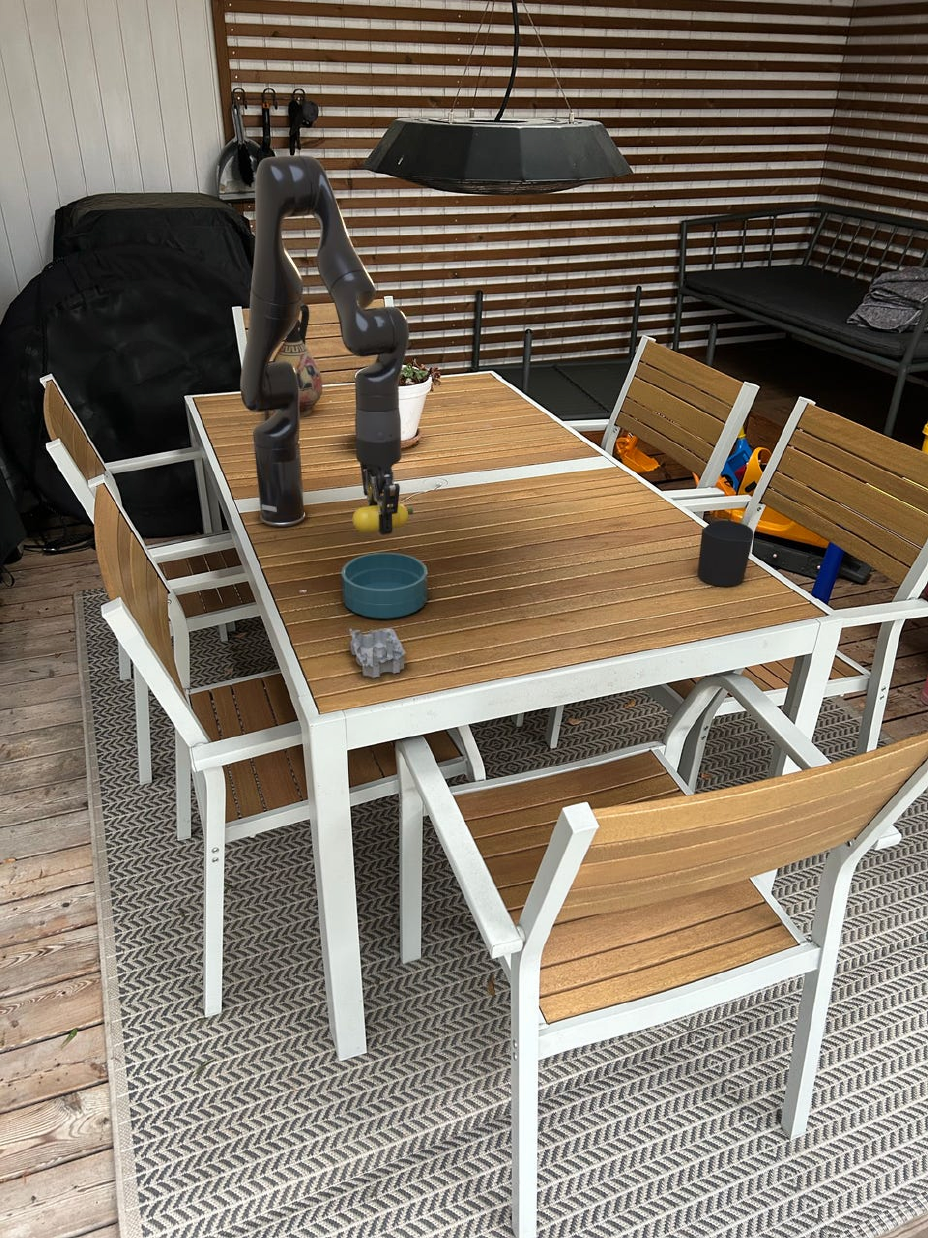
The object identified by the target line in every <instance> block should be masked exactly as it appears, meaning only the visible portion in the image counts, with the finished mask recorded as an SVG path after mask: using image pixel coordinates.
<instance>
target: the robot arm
mask: <svg viewBox="0 0 928 1238" xmlns="http://www.w3.org/2000/svg"><path fill="white" fill-rule="evenodd" d="M254 207H255V210H254V211H255V213H254V214H255V215H254V217H255V218H254V219H255V224H254V225H255V226H254V227H255V231H254V232H255V235H254V254H253V267H252V274H251V275H252V277H251V283H250V295H249V311H248V313H249V314H248V315H249V316H248V327H247V338H246V344H245V348H244V349H245V350H244V355H243V360H242V367H241V371H240V372H241V373H240V381H239V382H240V383H239V387H240V388H239V389H240V398H241V400H242V403H243V405H244V407H245V408H246V409H247V410H248V411H250V412H253V413H264V421H262V422H261V423H259V424H258V425H257V426H255V427H254V429H253V432H252V434H253V435H252V438H253V447H254V448H253V449H254V458H255V459H254V460H255V469H256V479H257V490H258V500H259V501H258V502H259V511H260V515H259V517H260V523H262V524H264V525H266V526H269V527H275V528H285V527H292V526H296V525H299V524H300V523H302V522H304V520H305V519H306V513H305V503H304V488H303V487H304V486H303V472H302V471H303V470H302V458H301V443H300V429H301V420H300V417H299V384H298V378H297V374H296V371H295V369H294V367H293V366H292V365H291V364H290V363H289V362H286V361H281V362H272V361H271V362H270V360H271V357H272V356H273V354H274V353H275V351H276V350H277V349H278V348H279V346H280V345H282V344H283V342H284V341H285V339H286V338H287V335H288V334H289V333H290V332H291V330H292V329H293V327H294V326H295V324H296V322H297V320H298V319H300V314H301V311H300V310H301V303H303V302H302V301H303V294H304V281H303V277H302V274H301V272H300V271H299V269H298V267H297V265H296V263H295V262H294V260H293V258H292V257H291V255H290V254H289V252H288V250H287V248H286V246H285V244H284V241H283V235H282V233H283V232H282V231H283V230H282V229H283V222H284V220H285V218H295V217H297V218H298V217H308V216H312V217H313V218H314V219H315V220H316V222H317V223H318V226H319V228H320V235H319V240H318V246H317V251H316V267H317V271H318V274H319V278H320V279H321V281H322V283H323V285H324V287H325V289H326V291H327V292H328V294H329V296H330V297H331V299H332V301H333V304H334V307H335V310H336V315H337V319H338V323H339V330H340V334H341V339H342V342H343V345H344V346H345V348H346V349H347V350H348V351H349V352H350V353H351V354H352V355H354V356H356V357H359V358H365V357H373V356H376V358H375V361H374V362H373V363H372V364H371V365H369V366H367V367H365V368H362V369H361V370H359V371H358V372H357V373H356V374H355V377H354V378H355V380H354V385H355V415H354V416H355V417H354V428H355V429H354V430H355V451H356V454H355V456H356V460H357V462H358V463H360V464H359V466H360V473H361V481H362V489H363V494H364V496H365V497H366V501H367V503H368V506H374V505H378V513H379V531H378V532H379V534H380V535H382V536H383V535H388V534H389V535H390V534H392V533H393V529H392V514H396V513H397V512H398V503H400V502H399V501H400V490H401V486H400V484H399V483H395V473H394V472H393V469H392V467H393V466H395V465H396V464H398V463H399V462H400V461H401V459H402V419H401V413H400V400H399V399H400V391H399V390H400V386H399V383H400V378H401V373H402V369H403V365H404V361H405V357H406V353H407V349H408V345H409V340H410V328H409V327H410V326H409V323H408V320H407V317H406V316H405V314H404V313H403V311H402V310H401V309H399V308H398V307H396V306H381V307H373V308H369V307H370V306H371V305H372V304H373V302H374V301H375V300H376V295H377V290H376V286H375V283H374V281H373V279H372V278H371V276H370V274H369V272H368V271H367V269H366V266H365V265H364V264H363V261H362V260H361V258H360V257H359V255H358V253H357V251H356V249H355V247H354V245H353V243H352V240H351V238H350V235H349V232H348V230H347V227H346V224H345V221H344V218H343V216H342V215H343V214H342V212H341V210H340V209H341V208H340V207H339V203H338V201H337V198H336V196H335V193H334V190H333V187H332V185H331V183H330V180H329V177H328V175H327V173H326V170H325V168H324V167H323V165H322V164H321V162H320V161H319V160H318V159H317V158H315V157H314V156H312V155H303V154H301V155H298V154H297V155H280V156H269V157H265V158H263V159H262V160H260V162H259V164H258V166H257V170H256V174H255V187H254ZM271 411H274V413H273V414H272V415H271V416H270V417H269V412H271ZM387 505H389V507H387Z"/></svg>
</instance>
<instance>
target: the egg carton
mask: <svg viewBox="0 0 928 1238" xmlns="http://www.w3.org/2000/svg"><path fill="white" fill-rule="evenodd" d="M348 632H349V633H350V636H351V640H350V643H349V647H350V652H351V655H352V656H355V660H356V664H358V666H360V667H361V666H362V675H363V677H370V678H373V679H374V678H380V675H381V674H383V673H392V674H398V673H400V672H401V670H404V669H405V654H407V651H406V650H404V647H403V645H402V642H401V641H400V639H399V638H398V636H397V634H396V631H395V630H394V629H393V628H379V630H373V629H370V630H369V631H368V632H369V633H367V634H363V632H362V630H360V629H355V630H353V629H352V627H349V629H348Z"/></svg>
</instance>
